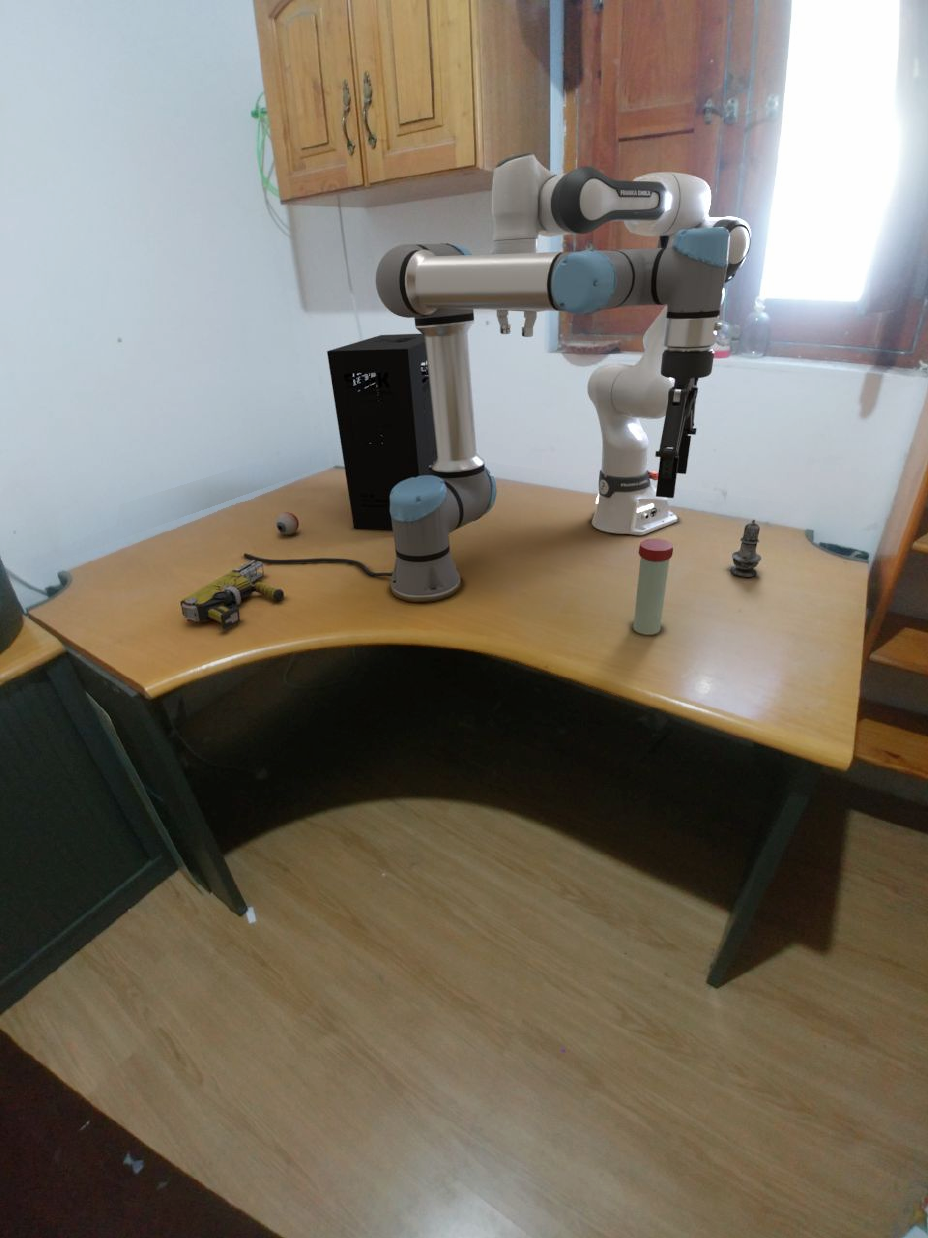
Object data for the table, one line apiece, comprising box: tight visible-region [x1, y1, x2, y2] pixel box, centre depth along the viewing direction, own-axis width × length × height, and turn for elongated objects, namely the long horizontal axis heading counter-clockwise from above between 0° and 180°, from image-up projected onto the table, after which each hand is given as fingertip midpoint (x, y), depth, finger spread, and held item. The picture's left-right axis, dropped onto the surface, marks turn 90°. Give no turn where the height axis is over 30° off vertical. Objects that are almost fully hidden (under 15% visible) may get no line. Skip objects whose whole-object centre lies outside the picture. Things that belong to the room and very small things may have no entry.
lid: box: [638, 538, 674, 561], centre depth 106 cm, size 6×6×2 cm
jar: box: [632, 557, 670, 636], centre depth 110 cm, size 5×5×17 cm
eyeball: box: [275, 511, 300, 536], centre depth 163 cm, size 6×6×6 cm
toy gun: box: [179, 559, 285, 630], centre depth 130 cm, size 5×24×15 cm
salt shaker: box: [730, 519, 762, 578], centre depth 129 cm, size 6×6×12 cm
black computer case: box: [326, 333, 437, 531], centre depth 169 cm, size 38×20×45 cm, turn 167°
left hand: (671, 484), depth 102 cm, fingers open, 13 cm apart
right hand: (516, 335), depth 125 cm, fingers open, 8 cm apart
